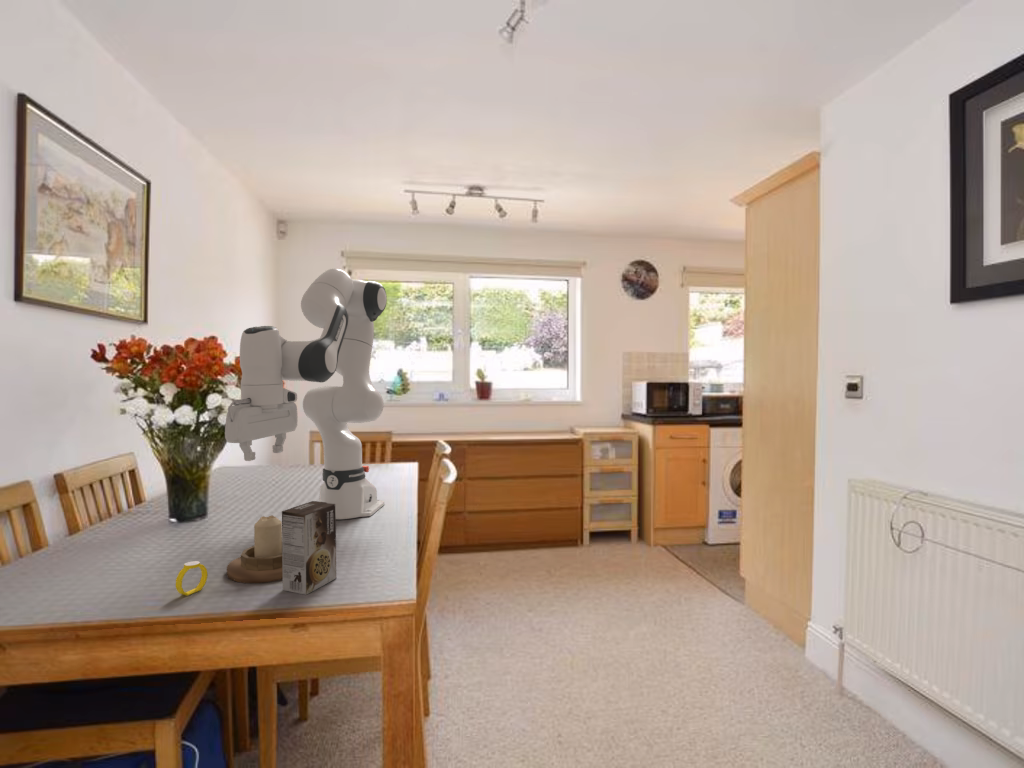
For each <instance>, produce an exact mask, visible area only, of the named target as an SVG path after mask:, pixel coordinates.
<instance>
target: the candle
mask: <svg viewBox="0 0 1024 768" xmlns="http://www.w3.org/2000/svg"><path fill="white" fill-rule="evenodd" d="M253 526H254V527H253V528H254V529H253V533H254V534H253V535H254V537H253V538H254V543H253V544H254V545H253V546H254V552H255V558H266V557H275V556H279V555H282V520H280V519H279V518H277V517H276V516H275V515H269V516H264V515H263V516H262V515H261V517H260V518H259V519H258V520H257V521H256V523H255V524H254V525H253Z"/></svg>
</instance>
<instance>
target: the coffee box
mask: <svg viewBox="0 0 1024 768" xmlns="http://www.w3.org/2000/svg"><path fill="white" fill-rule="evenodd" d="M336 521H337V519H336V515H335V504H330V503H326V502H319V500H316V501H315V500H312V501H308V502H306V503H302V504H300V505H296V506H294V507H291V508H287V509H285V510H282V511H281V522H282V564H283V579H282V590H283V591H284V592H285V591H286V592H290V593H294V594H300V595H305V596H307V595H309V594H311V593H312V592H315V591H316V590H317V589H319V588H322V587H323V586H325V585H326V584H329V583H330V582H332V581H334V580H336V579H337V532H336V530H337V528H336V527H337V526H336V525H337V524H336Z"/></svg>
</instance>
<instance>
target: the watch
mask: <svg viewBox="0 0 1024 768" xmlns="http://www.w3.org/2000/svg"><path fill="white" fill-rule="evenodd" d="M197 568H199V569H200V573H201V577H200V581H199V582H198V584H197V585H196V587H195V588H193V589H190V590H188V591H185V590H184V589H183V579H184V577H185V575H186V574H187V572H188V571H189V570H193V569H197ZM208 576H209V575H208V568H206V566H205V565H204V564H202V563H201V562H200V561H198V560H194V561H193V560H192V561H188V562H185V563H184V564H183V567H182V569H181V570H180V571H179V572H178V574H177V576H176V579H175V589H176V591H177V593H178V594H180V595H182V596H187V597H188V596H190V595H193V594H195V593H199V592H200V591H202V589H203V588H204V587H205V585H206V583H207V580H208Z"/></svg>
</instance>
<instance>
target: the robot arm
mask: <svg viewBox="0 0 1024 768" xmlns="http://www.w3.org/2000/svg"><path fill="white" fill-rule="evenodd" d="M387 296H388V295H387V291H386V288H385V287H384V286H383V285H382V283H380V282H377V281H374V280H363V279H362V280H360V279H352V277H351V276H350V275H349V274H348V273H347V272H346V271H344V270H342V269H339V268H329V269H327V270H325V271H324V272H322V273H321V274H320V275H318V277H317V278H316V279H315V280H313V282H311V284H310V286H309V287H308V288H307V289H306V291H304V294H303V295H302V298H301V301H300V308H301V312H302V313H303V316H304V317H305V319H306V320H307V321H308V322H309V323H311V324H312V325H313V326H315V327H317V328H320V329H322V332H321V335H320V337H318V338H316V339H313V340H312V339H311V340H306V341H305V340H302V341H299V340H298V341H291V340H290V341H289V340H287V339H285V338H283V337H282V336H281V335H280V331H279V329H278V327H275V326H273V325H260V326H253V327H248V328H246V329H244V330H243V331H242V334H241V337H240V343H239V344H240V345H239V367H240V370H241V380H240V399H234V400H233V401H232V402H231V403H230V404H229V406H228V407H227V413H226V417H225V426H224V438H225V440H226V442H227V443H229V444H239V448H240V449H241V451H242V453H243V460H244V461H246V462H252V461H254V460H256V451H253V450H252V447H251V446H253V441H255V440H259V439H264V438H269V437H274V438H275V442H274V445H272V453H273V454H280V453H283V451H284V443H285V442H286V439H287V433H291V432H294V431H296V429H297V427H298V406H297V403H296V402H297V400H298V394H297V393H296V392H295V391H292V390H290V389H287V388H285V387H284V382H283V381H289V382H291V381H292V382H295V381H296V382H297V381H298V382H303V381H304V382H312V383H324V382H327V381H328V380H330V379H331V377H332V376H333V375H334V374H335V373H336V372H337V374H338V375H340V376H342V381H343V382H342V383H343V384H342V385H341V386H331V385H329V386H328V385H327V386H326V385H325V386H321V387H320V386H319V387H315V388H311V389H309V390H308V391H307V392H306V393H305V395H304V397H303V400H302V410H303V412H304V414H305V415H306V417H307V418H308V419H309V420H311V421H312V422H313V424H314V425H315V427H316V428H317V430H318V433H319V434H320V438H321V440H322V441H321V442H322V444H323V445H322V447H323V466H324V467H323V468H322V473H321V476H322V481H323V483H322V484H321V485H320V488H319V499H318V501H319V502H326V503H330V504H335V515H336V520H350V519H355V518H361V517H362V518H363V517H371V516H373V515H374V514H375V513H377V511H378V510H380V509H381V508H382V507H383V506H384V505H385V501H384V500H381V499H378V494H377V493H378V491H377V487H376V486H375V485H374V484H372V483H371V482H370V481H369V479H367V478H366V473H369V471H370V467H369V465H363V444H362V442H361V439H360V438H359V437H358V436H356V435H355V434H354V433H352V432H351V430H350V429H349V426H348V424H365V423H370V422H374V421H377V420H378V419H379V418H380V417H381V415H382V413H383V410H384V400H383V397H382V395H381V393H380V391H378V390H377V389H376V388H375V386H374V384H373V383H372V380H371V375H370V366H371V357H372V352H373V351H372V350H373V346H374V338H375V337H374V335H375V326H374V325H375V323H374V322H375V321H377V319H378V318H379V317H380V316H381V315H382V314H383V313H384V311H385V309H386V307H387V302H388V301H387V299H388V297H387Z"/></svg>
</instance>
